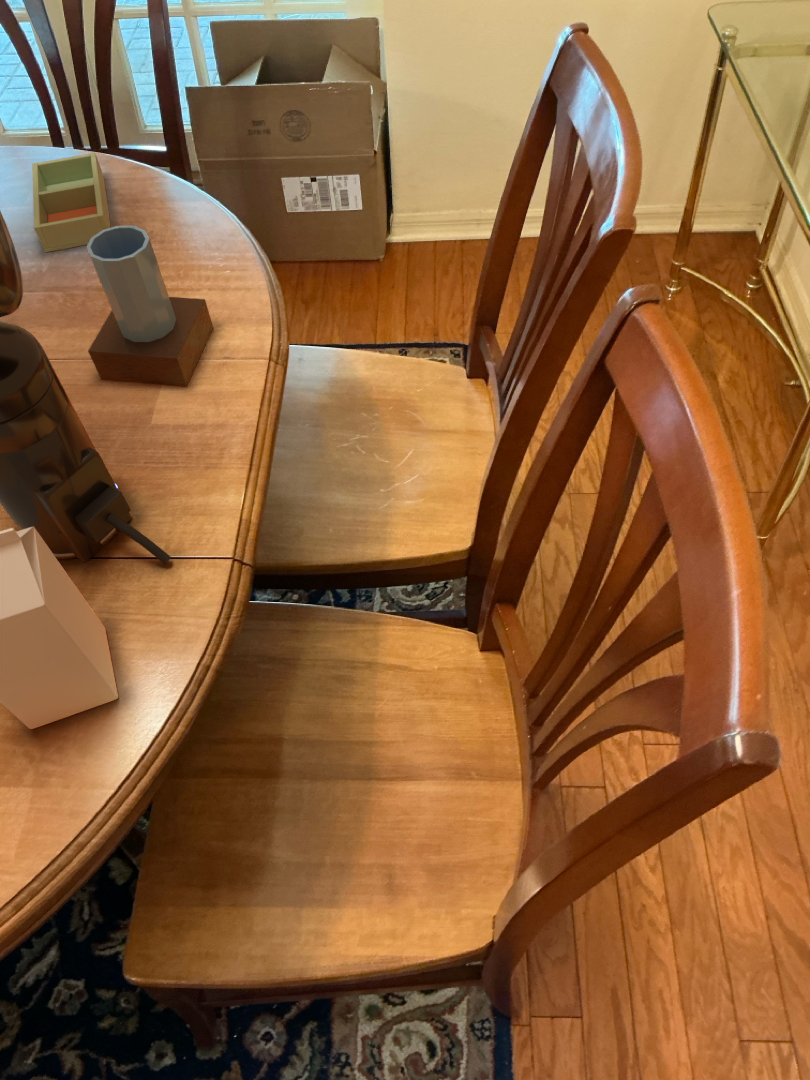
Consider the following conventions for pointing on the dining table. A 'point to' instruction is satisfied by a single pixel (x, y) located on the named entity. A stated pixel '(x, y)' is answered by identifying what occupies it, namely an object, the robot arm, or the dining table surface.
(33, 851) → the dining table surface
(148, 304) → the cup
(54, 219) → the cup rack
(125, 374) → the brown square block
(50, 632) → the milk carton
